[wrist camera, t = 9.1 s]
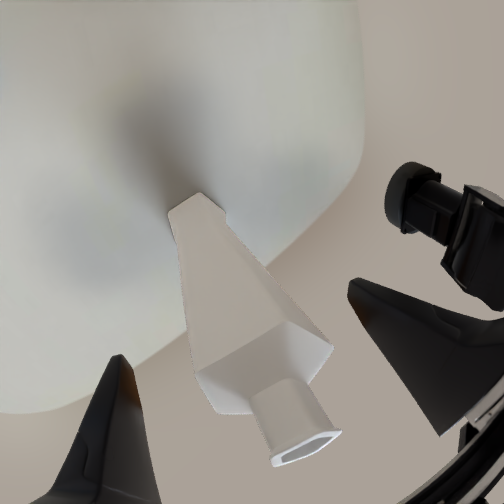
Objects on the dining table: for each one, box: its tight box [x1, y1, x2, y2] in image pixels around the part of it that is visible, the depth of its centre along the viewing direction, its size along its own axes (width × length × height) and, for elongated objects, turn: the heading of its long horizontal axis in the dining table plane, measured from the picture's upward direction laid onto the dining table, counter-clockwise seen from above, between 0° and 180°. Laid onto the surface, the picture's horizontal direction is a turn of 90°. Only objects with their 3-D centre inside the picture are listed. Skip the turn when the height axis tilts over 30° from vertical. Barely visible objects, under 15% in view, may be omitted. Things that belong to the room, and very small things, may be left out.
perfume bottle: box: [168, 193, 342, 467], centre depth 12 cm, size 5×4×15 cm
